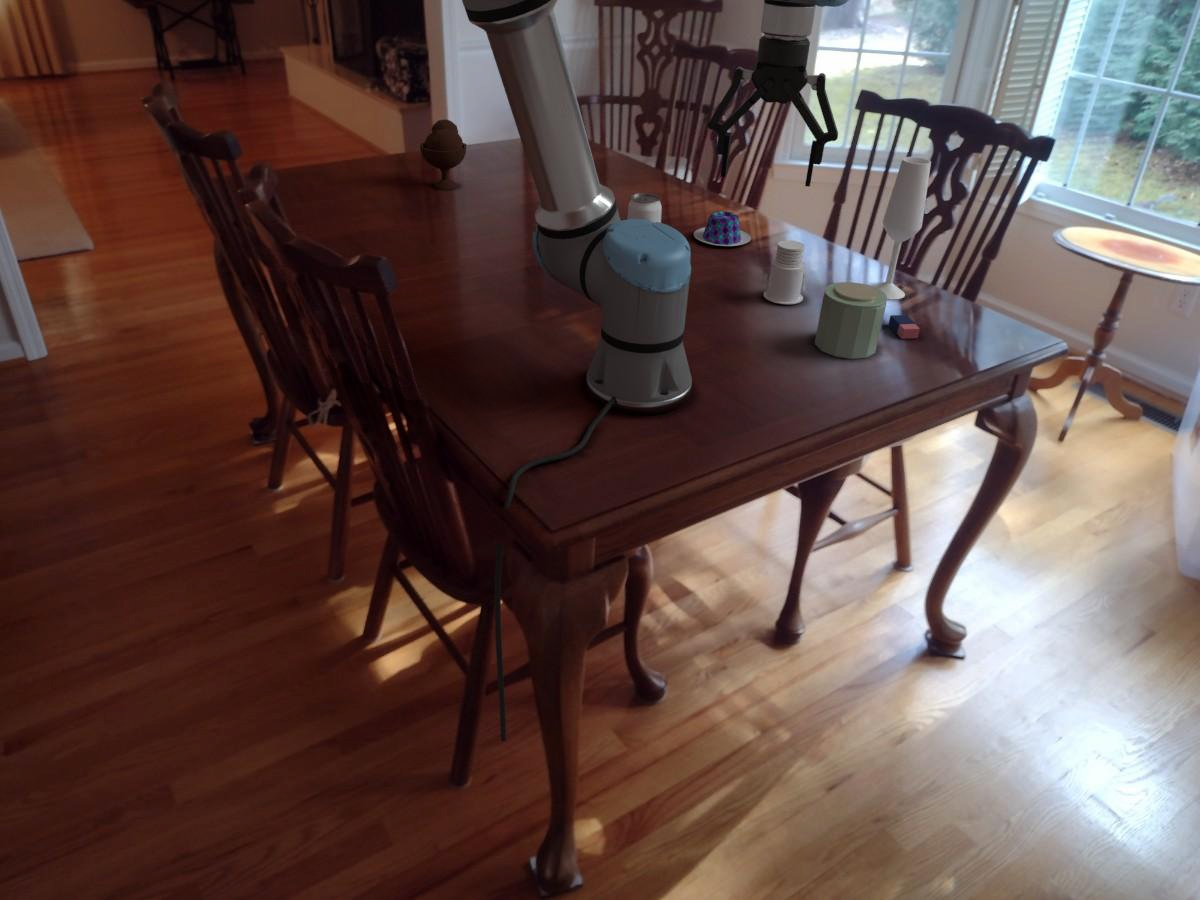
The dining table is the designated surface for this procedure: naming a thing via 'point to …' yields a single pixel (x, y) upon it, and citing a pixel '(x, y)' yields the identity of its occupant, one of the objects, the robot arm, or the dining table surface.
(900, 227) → the champagne flute
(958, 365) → the dining table surface
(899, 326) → the eraser
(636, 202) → the can
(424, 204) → the dining table surface
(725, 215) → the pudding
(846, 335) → the green canister
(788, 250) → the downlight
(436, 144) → the ice cream bowl
